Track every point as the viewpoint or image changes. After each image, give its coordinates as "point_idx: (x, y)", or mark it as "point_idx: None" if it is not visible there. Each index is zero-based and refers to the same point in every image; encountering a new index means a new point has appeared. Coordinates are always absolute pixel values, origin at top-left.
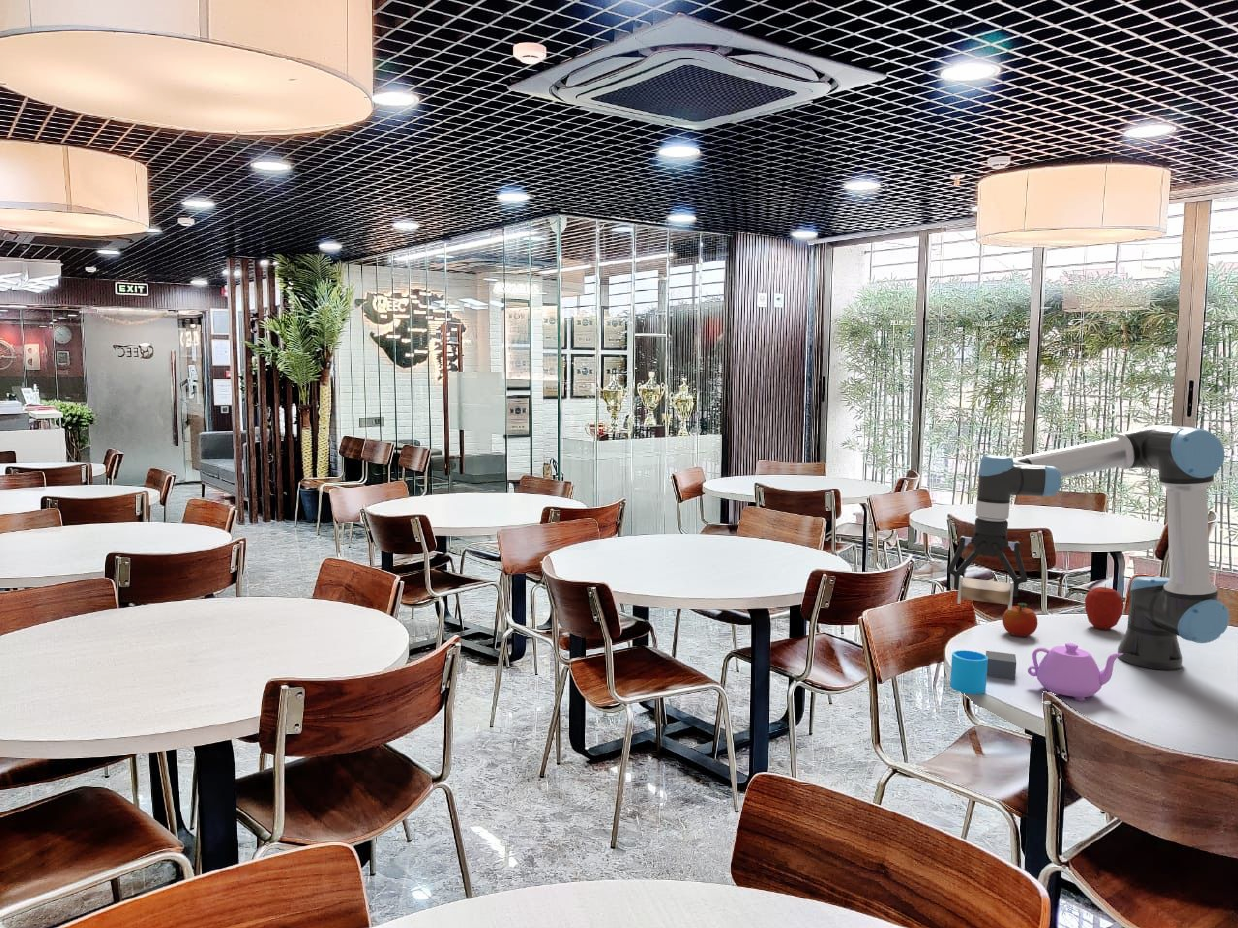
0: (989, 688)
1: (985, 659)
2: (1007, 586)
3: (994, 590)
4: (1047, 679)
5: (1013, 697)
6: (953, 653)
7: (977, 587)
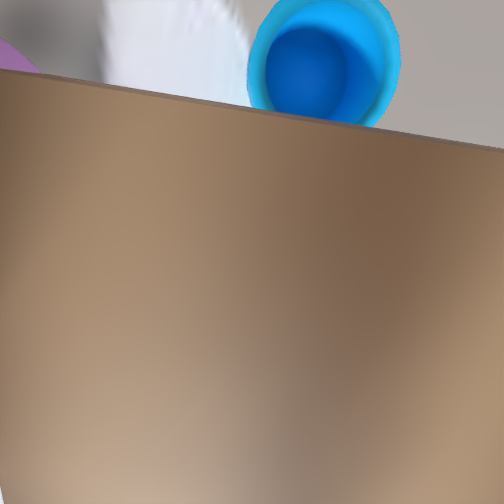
0: (232, 97)
1: (264, 28)
2: (24, 453)
3: (219, 117)
4: (28, 68)
5: (164, 22)
6: (392, 82)
7: (478, 244)
